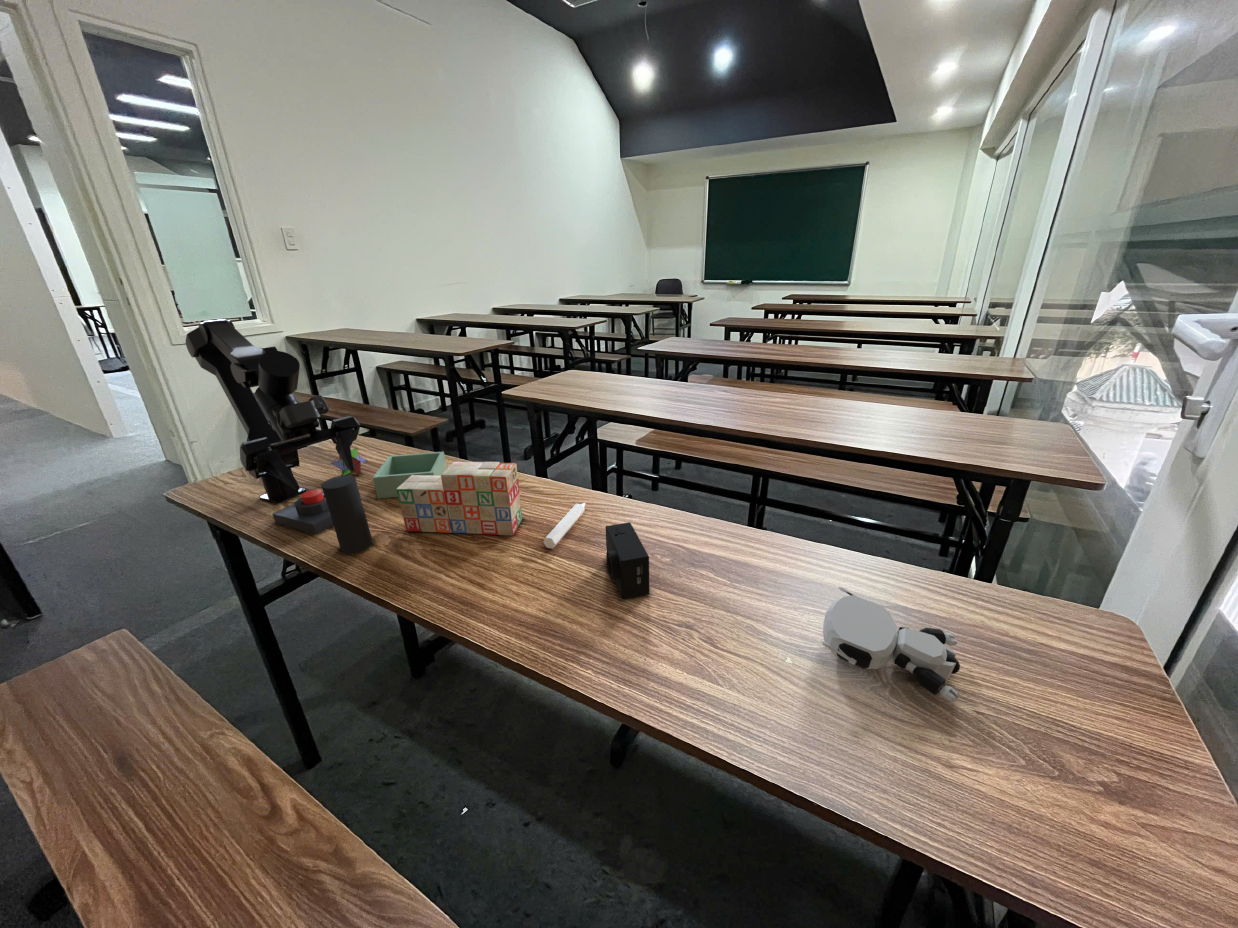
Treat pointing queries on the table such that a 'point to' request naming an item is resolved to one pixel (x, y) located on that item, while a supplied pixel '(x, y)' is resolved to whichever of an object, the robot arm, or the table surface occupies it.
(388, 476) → the tote
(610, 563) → the digital camera
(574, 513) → the marker
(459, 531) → the stack of blocks
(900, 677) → the table surface
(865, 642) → the robot toy
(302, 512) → the control block
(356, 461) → the geometric puzzle
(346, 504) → the dark grey cylinder
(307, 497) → the button
